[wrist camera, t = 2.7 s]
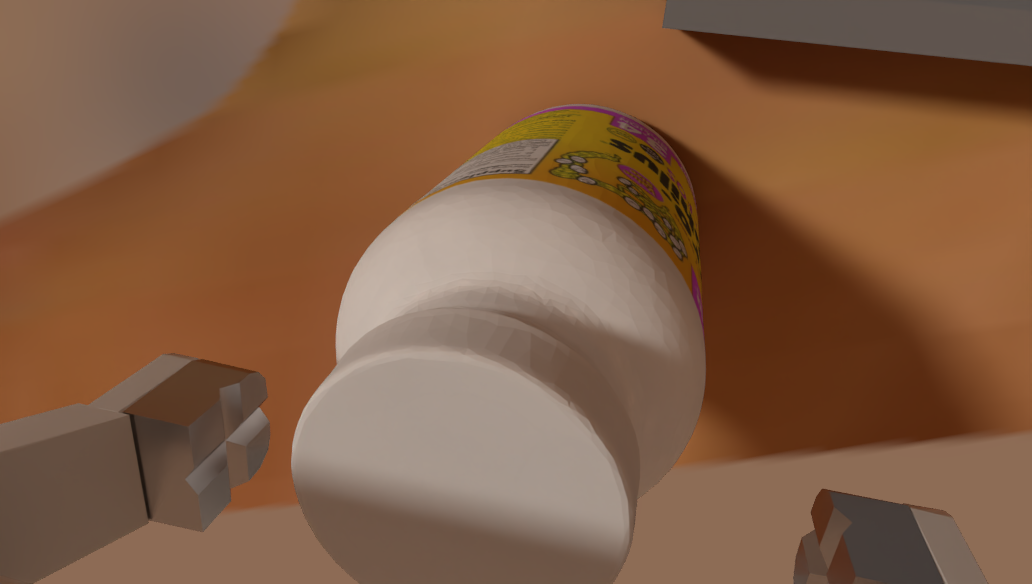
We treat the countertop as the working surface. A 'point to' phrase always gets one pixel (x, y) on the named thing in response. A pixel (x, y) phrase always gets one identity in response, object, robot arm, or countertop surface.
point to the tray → (873, 24)
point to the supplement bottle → (513, 363)
